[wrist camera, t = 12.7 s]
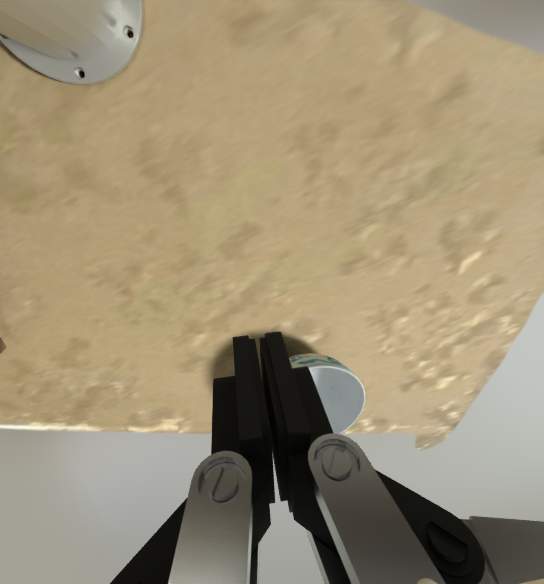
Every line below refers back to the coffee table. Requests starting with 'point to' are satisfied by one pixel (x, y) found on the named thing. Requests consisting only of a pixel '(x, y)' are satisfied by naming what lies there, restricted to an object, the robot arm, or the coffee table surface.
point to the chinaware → (334, 388)
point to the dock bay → (2, 346)
